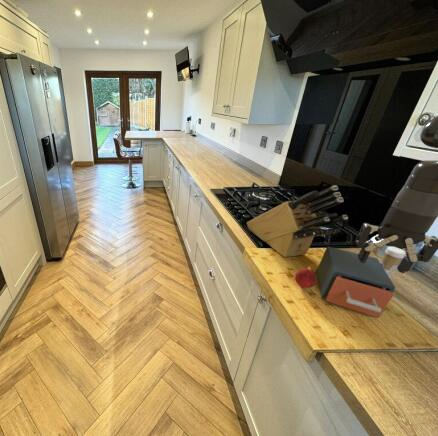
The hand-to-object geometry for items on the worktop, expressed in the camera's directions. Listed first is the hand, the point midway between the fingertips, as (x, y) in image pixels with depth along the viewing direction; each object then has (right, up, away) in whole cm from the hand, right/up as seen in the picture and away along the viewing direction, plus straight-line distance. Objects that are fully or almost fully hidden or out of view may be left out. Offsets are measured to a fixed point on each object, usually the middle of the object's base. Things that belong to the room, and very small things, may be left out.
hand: (380, 266), depth 61 cm
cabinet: (+5, -12, +17) cm, 22 cm away
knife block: (-3, 0, +41) cm, 41 cm away
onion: (-8, -11, +18) cm, 23 cm away
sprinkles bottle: (+21, -10, +22) cm, 33 cm away
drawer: (+2, -13, +13) cm, 18 cm away
